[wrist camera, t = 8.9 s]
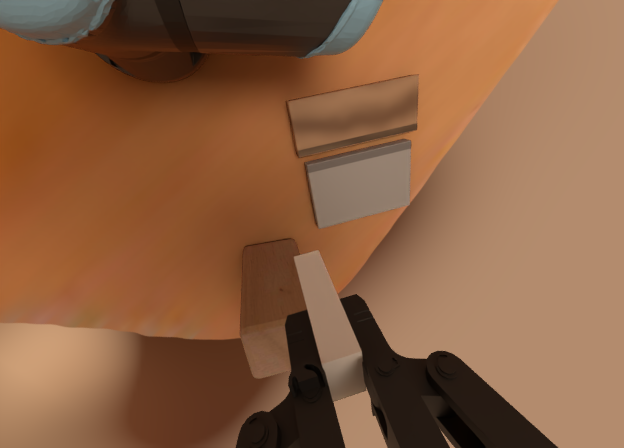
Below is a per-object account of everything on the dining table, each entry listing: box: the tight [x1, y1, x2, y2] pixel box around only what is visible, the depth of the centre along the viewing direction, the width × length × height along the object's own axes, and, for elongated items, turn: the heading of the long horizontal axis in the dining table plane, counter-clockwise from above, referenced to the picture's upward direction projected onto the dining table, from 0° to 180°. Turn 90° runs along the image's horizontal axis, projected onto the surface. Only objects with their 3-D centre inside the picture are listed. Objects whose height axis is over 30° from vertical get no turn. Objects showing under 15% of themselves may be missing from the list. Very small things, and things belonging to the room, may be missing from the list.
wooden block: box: [240, 239, 307, 378], centre depth 41 cm, size 10×10×20 cm
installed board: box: [286, 74, 419, 158], centre depth 39 cm, size 8×20×2 cm, turn 100°
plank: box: [305, 139, 411, 229], centre depth 45 cm, size 12×18×2 cm, turn 100°
